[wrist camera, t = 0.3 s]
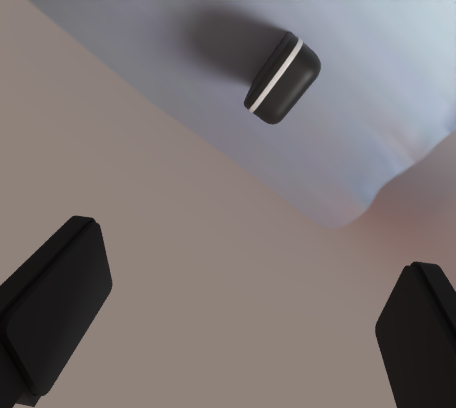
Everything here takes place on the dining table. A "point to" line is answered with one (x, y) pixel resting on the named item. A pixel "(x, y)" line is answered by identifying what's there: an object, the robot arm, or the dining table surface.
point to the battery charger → (282, 80)
